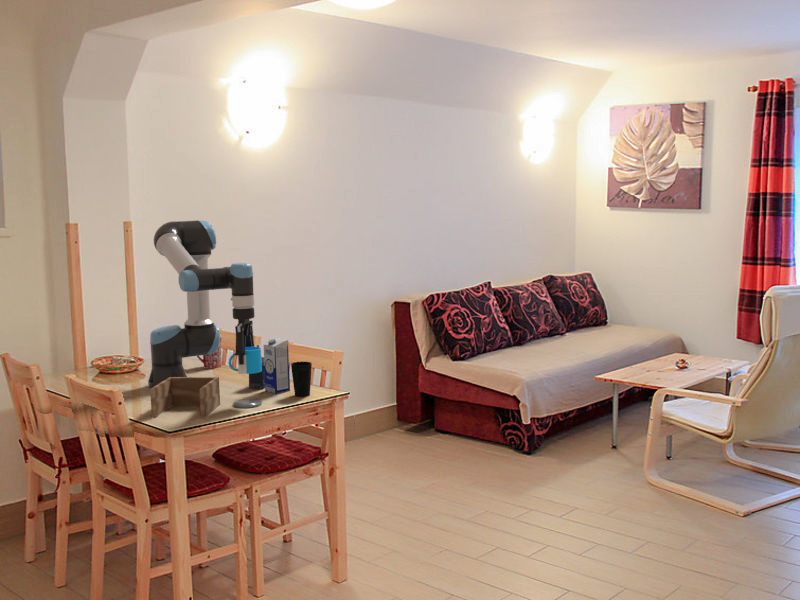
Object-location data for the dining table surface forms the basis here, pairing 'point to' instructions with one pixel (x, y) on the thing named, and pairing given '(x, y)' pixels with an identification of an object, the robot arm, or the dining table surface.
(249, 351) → the mug
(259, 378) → the small box
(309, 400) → the dining table surface
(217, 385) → the crate
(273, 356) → the milk carton
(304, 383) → the cup
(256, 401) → the coaster
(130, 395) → the dining table surface
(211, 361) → the mug
